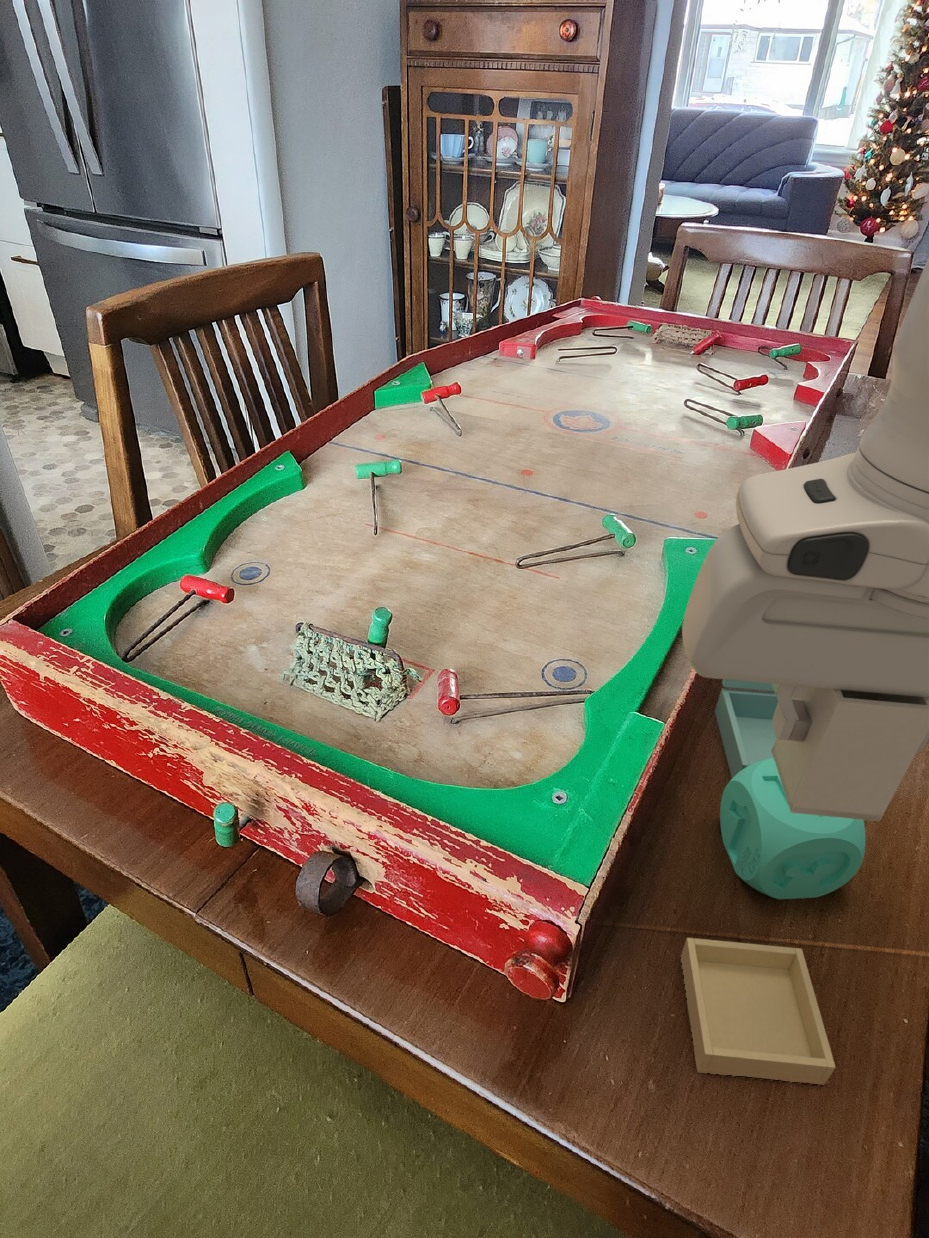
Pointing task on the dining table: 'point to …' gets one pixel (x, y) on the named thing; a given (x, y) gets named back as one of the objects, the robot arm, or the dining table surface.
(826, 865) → the decorative dice
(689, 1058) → the dining table surface
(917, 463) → the robot arm
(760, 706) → the grey-teal open box
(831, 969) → the dining table surface
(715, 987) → the tray
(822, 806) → the container
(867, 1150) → the dining table surface
